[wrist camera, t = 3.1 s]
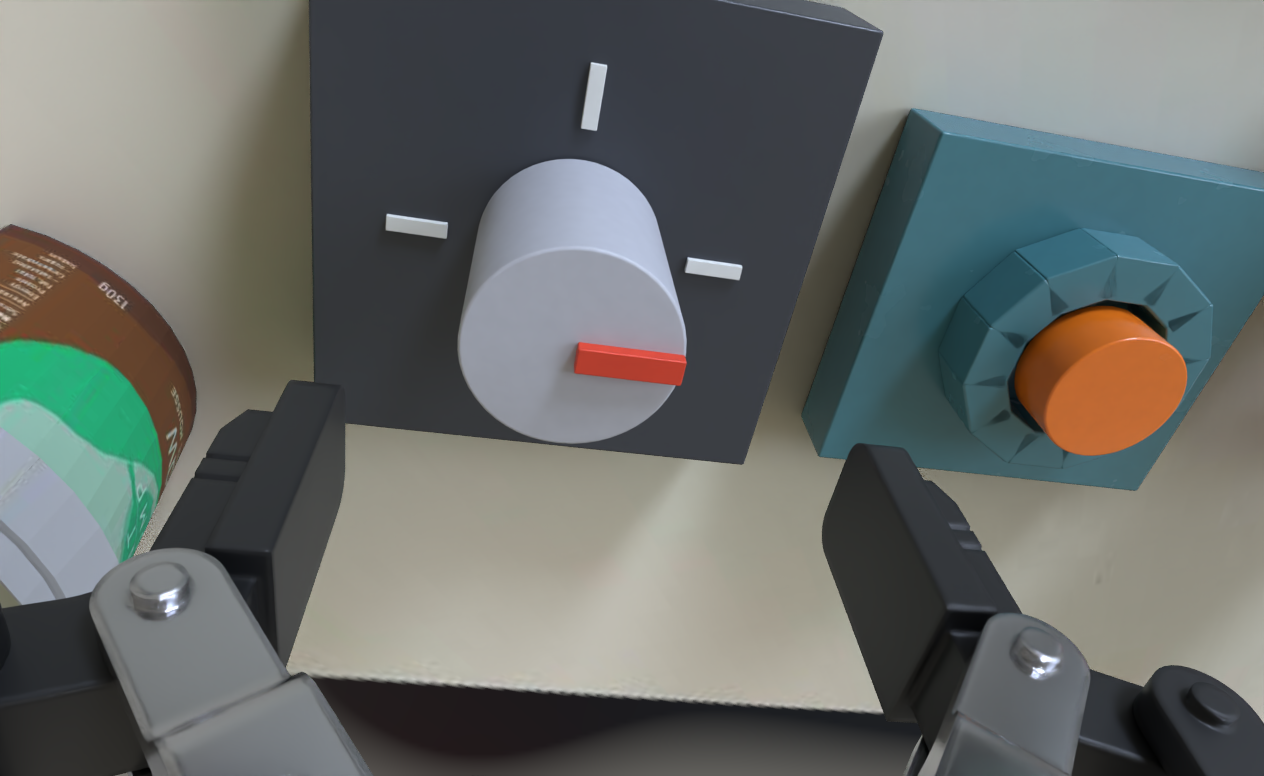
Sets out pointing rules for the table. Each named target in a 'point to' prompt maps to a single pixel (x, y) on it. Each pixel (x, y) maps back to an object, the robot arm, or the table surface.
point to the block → (1026, 290)
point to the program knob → (570, 306)
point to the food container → (80, 417)
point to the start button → (1099, 380)
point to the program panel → (584, 130)
